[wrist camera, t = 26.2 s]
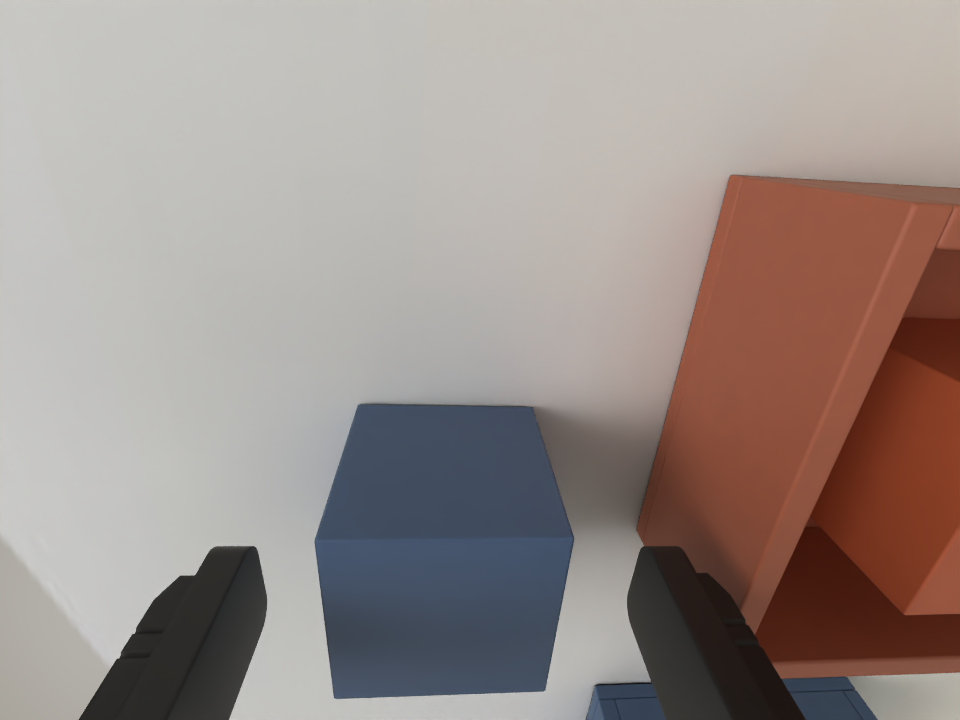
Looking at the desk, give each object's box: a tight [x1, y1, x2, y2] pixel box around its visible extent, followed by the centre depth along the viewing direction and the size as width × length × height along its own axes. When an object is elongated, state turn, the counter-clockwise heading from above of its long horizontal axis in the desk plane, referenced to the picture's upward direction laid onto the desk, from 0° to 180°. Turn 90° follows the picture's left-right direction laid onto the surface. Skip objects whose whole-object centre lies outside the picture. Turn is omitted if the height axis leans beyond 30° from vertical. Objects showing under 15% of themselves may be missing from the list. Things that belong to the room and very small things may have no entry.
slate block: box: [315, 404, 574, 699], centre depth 11 cm, size 4×4×4 cm
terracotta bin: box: [636, 175, 960, 679], centre depth 11 cm, size 10×10×4 cm
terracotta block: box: [810, 318, 960, 615], centre depth 10 cm, size 4×4×4 cm
